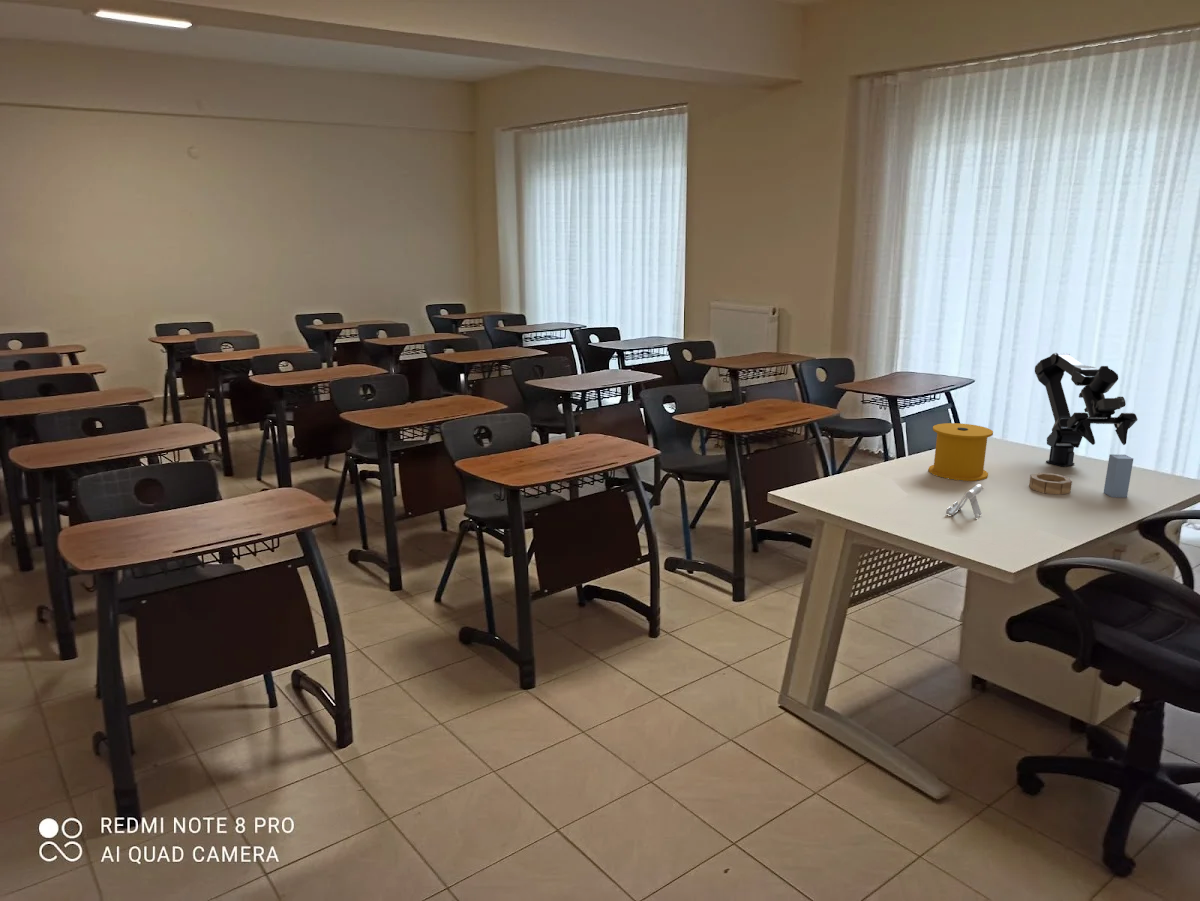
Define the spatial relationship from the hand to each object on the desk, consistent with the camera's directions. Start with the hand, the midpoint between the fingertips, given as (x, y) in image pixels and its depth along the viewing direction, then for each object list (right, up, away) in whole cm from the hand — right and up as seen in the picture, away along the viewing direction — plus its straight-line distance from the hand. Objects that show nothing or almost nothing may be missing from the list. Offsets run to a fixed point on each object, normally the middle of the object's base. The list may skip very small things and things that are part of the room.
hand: (1109, 444), depth 257 cm
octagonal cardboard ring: (-17, -14, +2) cm, 22 cm away
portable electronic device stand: (-53, -20, -21) cm, 61 cm away
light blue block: (0, -15, -4) cm, 16 cm away
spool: (-38, -10, +19) cm, 44 cm away
